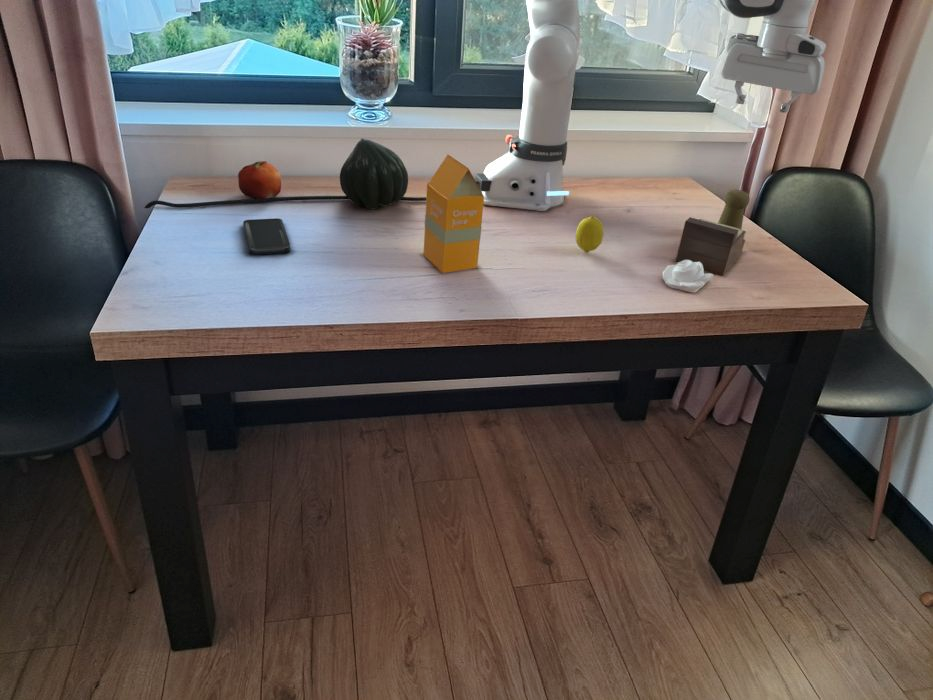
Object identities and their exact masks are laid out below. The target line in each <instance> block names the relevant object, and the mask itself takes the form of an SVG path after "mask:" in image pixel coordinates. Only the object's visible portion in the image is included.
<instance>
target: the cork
mask: <svg viewBox="0 0 933 700" xmlns="http://www.w3.org/2000/svg"><path fill="white" fill-rule="evenodd" d="M750 199H751V198H750V194H749V193H748V192H746V191H743V190H741V189H731V190H728V191H727V192H726V193H725V196H724V204H725V205H724V208H723V210H722V211H721V214H720V217H719V219H718V221H717V223H720V224H723V225H727V226H731V227H735V228H738V229H742V228H743V222H744V215H745V214H744V213H745V208H747V207H748V205H749V204H750V201H751V200H750ZM742 230H743V229H742Z"/></svg>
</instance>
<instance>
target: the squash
mask: <svg viewBox="0 0 933 700" xmlns="http://www.w3.org/2000/svg"><path fill="white" fill-rule="evenodd" d="M339 184H340V187H341V190H342V192H343V194H344V196H347V197H348V198H349V199H348V200H350V201H351V203H352V204H353V205H355V206H356V207H359V208H367V209H368V210H376V209H378V208H379V207H380V206H383V207H386V206H390V204H395V203H397V202H399V201H401V200H400V199H402V198H403V197H405V195H406V193H407V190H408V186H409V173H408V170H407V168H406V166H405V163H404V162H403V160H402V159H401V157H400V156H399V155H398V154H396V152H395V151H393V150H391V149H390V148H388V147H386V146H384V145H382V144H380V143H378V142H376V141H373V140H371V139H367V138H360V140H359V141H358V142H357V143H356V145H355V146H354V148H353V149H352V151H351V152H350V154H349V156H348V157H347V158H346V160H345V161H344V163H343V165H342V166H341V169H340V173H339Z"/></svg>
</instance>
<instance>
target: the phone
mask: <svg viewBox="0 0 933 700" xmlns="http://www.w3.org/2000/svg"><path fill="white" fill-rule="evenodd" d="M242 223H243V231H244V235H245V236H244V237H245V240H246V241H245V242H246V246H247V251H248V254H249V255H250V256H261V255H277V254H288V253H290V252H291V244H290V240H289V236H288V233H287V230H286V228H285V224H284V221H283V219H282V218H257V219H256V218H255V219H253V218H252V219H245V220H243V222H242Z"/></svg>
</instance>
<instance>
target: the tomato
mask: <svg viewBox="0 0 933 700" xmlns="http://www.w3.org/2000/svg"><path fill="white" fill-rule="evenodd" d="M237 178H238V188H239V191H240V192H241V193H242V194H243V195H244V196H246V197H249V198H251V199H267V198H274V197H278V195H279V194H281V190H282V178H281V174H280V172H279V170H278V169H277V168H276V167H275V166H274V165H273V164H271V163H268V161H266V160H264V161H262V160H261V161H259V160H258V161H256V162H254V163H252V164H248V165H245V166H243V167H242V168H241V169H240V170H239V171H238V173H237Z"/></svg>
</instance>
